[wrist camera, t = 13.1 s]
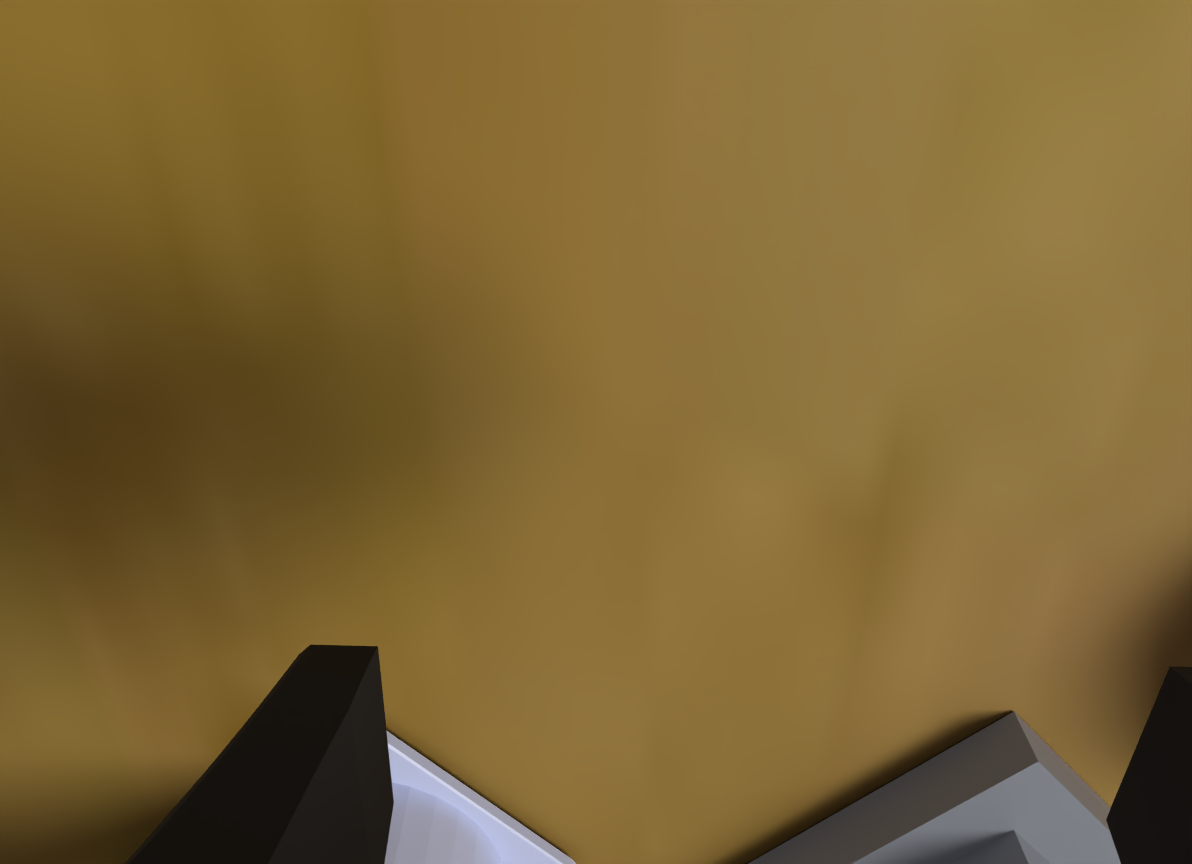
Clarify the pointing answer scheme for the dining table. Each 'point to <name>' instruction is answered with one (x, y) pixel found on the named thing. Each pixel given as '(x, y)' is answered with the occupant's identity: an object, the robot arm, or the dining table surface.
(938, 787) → the checker housing
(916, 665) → the dining table surface
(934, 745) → the dining table surface
